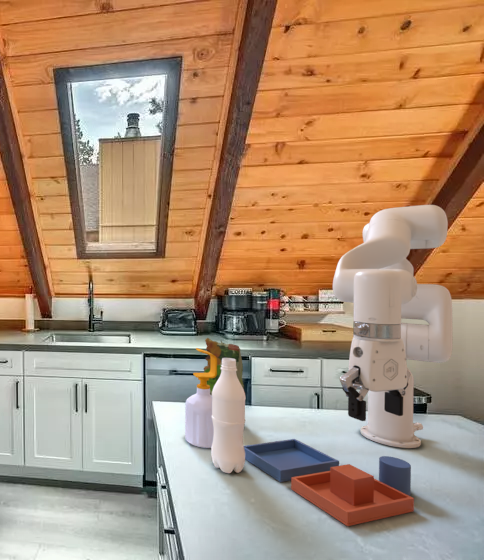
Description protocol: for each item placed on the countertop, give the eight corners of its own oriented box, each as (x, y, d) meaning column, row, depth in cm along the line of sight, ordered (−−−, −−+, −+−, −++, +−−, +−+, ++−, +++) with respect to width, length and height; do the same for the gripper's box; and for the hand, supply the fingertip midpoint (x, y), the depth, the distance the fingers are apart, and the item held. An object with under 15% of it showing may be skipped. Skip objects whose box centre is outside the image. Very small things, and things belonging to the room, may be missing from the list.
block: (348, 488, 79) (349, 463, 79) (373, 501, 74) (374, 476, 74) (329, 491, 78) (330, 467, 78) (354, 506, 73) (354, 479, 73)
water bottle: (248, 477, 84) (249, 363, 83) (213, 474, 85) (214, 361, 85) (241, 462, 91) (242, 356, 90) (209, 459, 92) (210, 355, 92)
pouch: (244, 434, 107) (244, 344, 107) (199, 426, 112) (200, 341, 112) (245, 420, 117) (245, 338, 117) (204, 414, 122) (204, 335, 122)
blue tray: (294, 448, 98) (294, 438, 98) (339, 471, 86) (339, 460, 86) (240, 456, 94) (241, 446, 94) (280, 482, 82) (280, 470, 82)
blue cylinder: (390, 482, 82) (390, 454, 82) (416, 495, 77) (417, 466, 77) (372, 486, 81) (373, 457, 81) (398, 499, 76) (399, 469, 76)
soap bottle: (181, 433, 107) (182, 345, 107) (214, 434, 107) (215, 346, 106) (190, 448, 98) (191, 352, 98) (226, 449, 98) (227, 352, 97)
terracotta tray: (351, 478, 84) (351, 466, 84) (414, 511, 72) (414, 498, 72) (291, 489, 79) (291, 477, 79) (347, 526, 68) (347, 512, 68)
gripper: (361, 336, 71) (360, 428, 72) (429, 332, 76) (427, 418, 76) (325, 330, 78) (324, 413, 79) (389, 327, 83) (388, 405, 83)
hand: (375, 416), depth 77 cm, fingers open, 9 cm apart
